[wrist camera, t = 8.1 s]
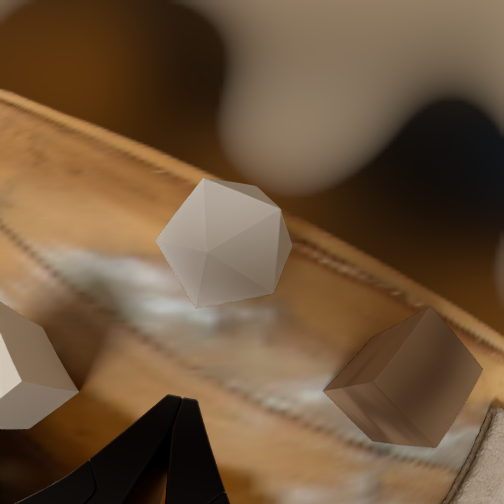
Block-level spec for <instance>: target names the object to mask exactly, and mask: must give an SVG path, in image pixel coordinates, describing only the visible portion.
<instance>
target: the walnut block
mask: <svg viewBox="0 0 504 504" xmlns="http://www.w3.org/2000/svg"><path fill="white" fill-rule="evenodd" d="M482 371H483V368H482V367H481V366H480V364H479V363H478V362H477V360H476V359H475V358H474V357H473V355H472V354H471V353H470V352H469V350H468V349H467V348H466V347H465V346H464V344H463V343H462V342H461V341H460V339H459V338H458V337H457V336H456V335H455V333H454V332H453V331H452V330H451V329H450V328H449V326H448V325H447V324H446V323H445V322H444V321H443V319H442V318H441V317H440V316H439V315H438V314H437V313H436V311H435V310H434V309H433V308H432V307H431V306H428V307H426V308H425V309H423V310H421V311H420V312H418V313H416V314H414V315H413V316H411V317H409V318H407V319H405V320H404V321H402V322H400V323H398V324H396V325H394V326H393V327H391V328H389V329H387V330H385V331H383V332H381V333H379V334H377V335H375V336H373V337H372V338H371V339H370V340H369V341H368V343H367V344H366V345H365V346H364V347H363V348H362V350H361V351H360V352H359V353H358V354H357V355H356V356H355V357H354V359H353V360H352V361H351V362H350V363H349V364H348V365H347V366H346V367H345V368H344V369H343V371H342V372H341V373H340V374H339V375H338V376H337V377H336V378H335V379H334V380H333V381H332V382H331V383H330V384H329V385H328V386H327V387H326V388H325V389H324V390H323V392H324V393H325V394H326V395H327V396H328V397H329V398H330V399H331V400H332V401H333V402H334V403H335V404H336V405H337V406H338V407H339V408H340V409H341V410H342V411H343V412H344V413H345V414H346V415H347V416H348V417H349V418H350V419H351V420H352V421H353V422H354V423H355V424H356V425H357V426H358V427H359V428H360V429H361V430H362V431H363V432H364V433H365V434H366V435H367V436H368V437H369V438H370V439H371V440H372V441H375V442H382V443H390V444H398V445H408V446H419V447H432V448H436V447H437V446H438V444H439V443H440V442H441V440H442V439H443V437H444V436H445V434H446V433H447V431H448V430H449V428H450V427H451V425H452V423H453V422H454V420H455V419H456V417H457V415H458V414H459V412H460V411H461V409H462V407H463V406H464V404H465V402H466V400H467V399H468V397H469V395H470V393H471V391H472V390H473V388H474V386H475V384H476V382H477V380H478V378H479V376H480V374H481V373H482Z"/></svg>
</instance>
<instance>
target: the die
mask: <svg viewBox="0 0 504 504" xmlns="http://www.w3.org/2000/svg"><path fill="white" fill-rule="evenodd" d="M155 241H156V243H157V244H158V246H159V248H160V250H161V251H162V253H163V255H164V256H165V258H166V260H167V262H168V263H169V265H170V267H171V268H172V270H173V272H174V273H175V275H176V277H177V278H178V280H179V282H180V283H181V285H182V287H183V288H184V290H185V292H186V293H187V295H188V297H189V298H190V300H191V301H192V303H193V305H194V306H195V308H201V307H206V306H212V305H218V304H223V303H228V302H234V301H239V300H244V299H250V298H255V297H260V296H265V295H270V294H274V291H275V289H276V286H277V284H278V281H279V279H280V276H281V274H282V271H283V269H284V266H285V264H286V261H287V259H288V256H289V254H290V251H291V249H292V243H291V240H290V236H289V233H288V230H287V227H286V223H285V220H284V217H283V214H282V211H281V209H280V208H279V207H278V206H277V205H276V204H275V203H274V202H273V201H272V200H271V199H269V197H267V196H266V195H265V194H264V193H263V192H262V191H261V190H260V189H259V188H258V187H257V186H253V185H247V184H241V183H234V182H228V181H221V180H214V179H208V178H203V179H202V180H201V182H200V183H199V184H198V185H197V187H196V188H195V189H194V190H193V192H192V193H191V194H190V196H189V197H188V198H187V199H186V201H185V202H184V203H183V204H182V206H181V207H180V208H179V210H178V211H177V212H176V214H175V215H174V216H173V218H172V219H171V220H170V221H169V223H168V224H167V225H166V227H165V228H164V229H163V231H162V232H161V234H160V235H159V236H158V238H157V239H156V240H155Z"/></svg>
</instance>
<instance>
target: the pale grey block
mask: <svg viewBox="0 0 504 504" xmlns="http://www.w3.org/2000/svg"><path fill="white" fill-rule="evenodd" d="M77 393H79V391H78V390H77V388H76V386H75V385H74V383H73V381H72V380H71V378H70V377H69V375H68V373H67V372H66V370H65V368H64V366H63V365H62V363H61V361H60V359H59V358H58V356H57V354H56V352H55V350H54V348H53V347H52V345H51V343H50V341H49V339H48V337H47V335H46V333H45V331H44V329H43V327H41V326H39V325H37V324H36V323H34V322H32V321H31V320H29V319H27V318H26V317H24V316H22V315H21V314H19V313H17V312H16V311H14V310H13V309H11V308H10V307H8V306H6V305H5V304H3V303H2V302H0V429H29V428H31V427H32V426H34V425H35V424H36V423H38V422H39V421H40V420H42V419H43V418H45V417H46V416H47V415H49V414H50V413H51V412H53V411H54V410H55V409H57V408H58V407H60V406H61V405H62V404H64V403H65V402H66V401H68V400H69V399H70V398H72V397H73V396H74V395H76V394H77Z"/></svg>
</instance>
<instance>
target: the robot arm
mask: <svg viewBox="0 0 504 504" xmlns="http://www.w3.org/2000/svg"><path fill="white" fill-rule="evenodd" d="M166 484H167V485H166ZM165 487H166V498H165V504H230V502H229V499H228V496H227V494H226V493H225V488H224V485H223V483H222V480H221V477H220V474H219V471H218V468H217V464H216V461H215V458H214V455H213V452H212V449H211V445H210V442H209V439H208V435H207V432H206V429H205V425H204V422H203V418H202V415H201V411H200V407H199V404H198V401H197V400H196V399H190V398H183V399H182V398H181V397H180V396H175V395H170V394H169V395H166V396H165V397H164V398H163V399H162V400H160V401H159V402H158V403H157V404H156V405H155V406H153V407H152V408H151V409H150V410H149V411H148V412H146V413H145V414H144V415H143V416H142V417H140V418H139V419H138V420H137V421H136V422H134V423H133V424H132V425H131V426H130V427H128V428H127V429H126V430H125V431H124V432H122V433H121V434H120V435H119V436H117V437H116V438H115V439H114V440H112V441H111V442H110V443H109V444H108V445H106V446H105V447H104V448H103V449H101V450H100V451H99V452H97V453H96V454H95V455H94V456H92V457H91V458H90V459H89V461H88V460H87V461H86V462H85V463H83V464H82V465H81V466H79V467H78V468H77V469H75V470H74V471H73V472H71V473H70V474H68V475H67V476H65V477H64V478H62V479H60V480H59V481H57V482H55V483H54V484H52V485H50V486H48V487H47V488H45V489H43V490H41V491H39V492H37V493H35V494H33V495H31V496H29V497H27V498H25V499H23V500H21V501H19V502H17V503H15V504H160V501H161V498H162V495H163V493H164V490H165Z"/></svg>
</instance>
